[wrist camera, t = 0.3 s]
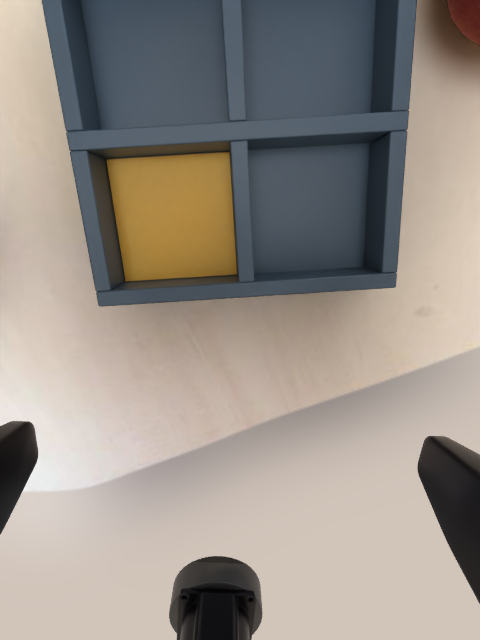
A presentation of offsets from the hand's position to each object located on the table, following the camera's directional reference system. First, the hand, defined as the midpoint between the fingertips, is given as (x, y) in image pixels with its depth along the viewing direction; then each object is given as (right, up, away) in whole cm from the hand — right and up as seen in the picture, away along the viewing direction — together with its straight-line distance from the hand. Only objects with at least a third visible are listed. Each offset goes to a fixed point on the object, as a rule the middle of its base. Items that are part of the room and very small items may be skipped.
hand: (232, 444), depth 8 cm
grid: (0, +12, +11) cm, 16 cm away
